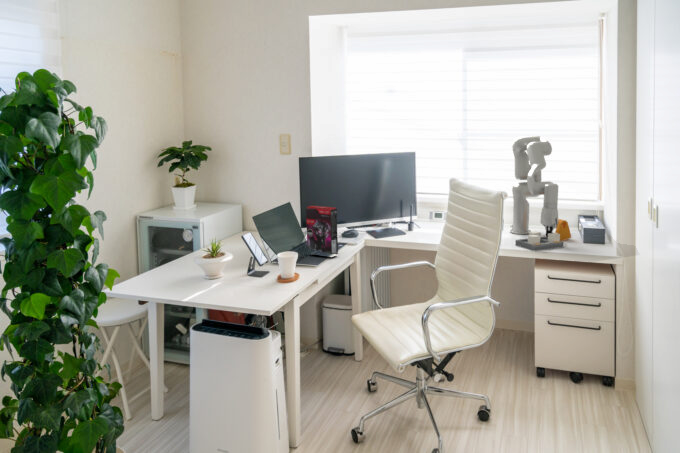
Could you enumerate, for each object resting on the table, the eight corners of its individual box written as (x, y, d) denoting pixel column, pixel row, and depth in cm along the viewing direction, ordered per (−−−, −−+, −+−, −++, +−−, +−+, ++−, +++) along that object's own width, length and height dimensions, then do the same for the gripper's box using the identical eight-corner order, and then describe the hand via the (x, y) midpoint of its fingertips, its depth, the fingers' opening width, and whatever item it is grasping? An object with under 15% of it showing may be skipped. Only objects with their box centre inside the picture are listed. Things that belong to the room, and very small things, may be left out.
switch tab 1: (528, 240, 358) (528, 232, 357) (535, 239, 360) (536, 231, 359) (533, 241, 355) (533, 233, 354) (540, 240, 356) (540, 232, 355)
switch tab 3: (547, 242, 353) (548, 233, 352) (554, 241, 355) (555, 232, 354) (552, 243, 349) (552, 234, 348) (559, 242, 351) (559, 233, 350)
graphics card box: (306, 255, 344) (304, 207, 339) (313, 252, 350) (312, 205, 345) (331, 259, 335) (330, 209, 330) (339, 256, 340) (337, 207, 335)
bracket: (562, 237, 375) (563, 217, 373) (570, 239, 368) (571, 219, 366) (547, 238, 372) (548, 219, 369) (556, 241, 365) (556, 221, 363)
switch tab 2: (527, 244, 349) (528, 235, 348) (535, 243, 351) (535, 234, 350) (532, 245, 345) (532, 236, 344) (539, 244, 347) (540, 236, 346)
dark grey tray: (515, 245, 357) (515, 239, 357) (544, 241, 365) (544, 236, 364) (533, 250, 343) (533, 245, 342) (563, 246, 350) (563, 241, 350)
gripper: (536, 204, 357) (534, 235, 361) (554, 208, 343) (552, 240, 347) (546, 202, 360) (545, 233, 364) (564, 206, 346) (563, 239, 350)
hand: (548, 237), depth 355 cm, fingers closed
